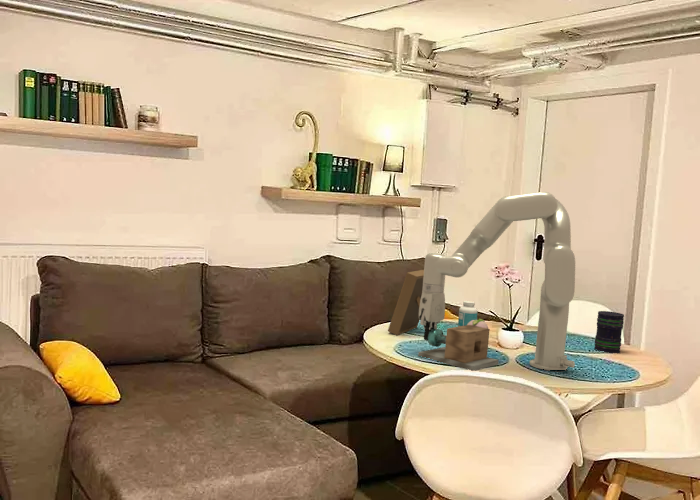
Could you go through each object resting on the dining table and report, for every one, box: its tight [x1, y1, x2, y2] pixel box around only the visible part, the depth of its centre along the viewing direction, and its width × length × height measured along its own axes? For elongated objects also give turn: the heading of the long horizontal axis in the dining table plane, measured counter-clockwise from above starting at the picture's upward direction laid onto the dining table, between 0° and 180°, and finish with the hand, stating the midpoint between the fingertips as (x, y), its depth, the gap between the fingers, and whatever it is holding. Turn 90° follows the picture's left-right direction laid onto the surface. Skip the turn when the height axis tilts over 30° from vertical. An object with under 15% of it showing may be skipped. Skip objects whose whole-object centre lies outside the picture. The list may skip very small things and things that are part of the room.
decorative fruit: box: [467, 316, 489, 329], centre depth 273 cm, size 9×8×10 cm
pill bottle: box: [457, 300, 478, 327], centre depth 288 cm, size 8×7×14 cm
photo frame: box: [387, 269, 438, 336], centre depth 282 cm, size 15×22×25 cm
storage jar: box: [594, 310, 625, 354], centre depth 277 cm, size 10×10×15 cm
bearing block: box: [417, 325, 499, 371], centre depth 239 cm, size 22×16×12 cm
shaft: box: [427, 328, 447, 348], centre depth 241 cm, size 16×6×6 cm, turn 49°
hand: (428, 340), depth 247 cm, fingers closed
